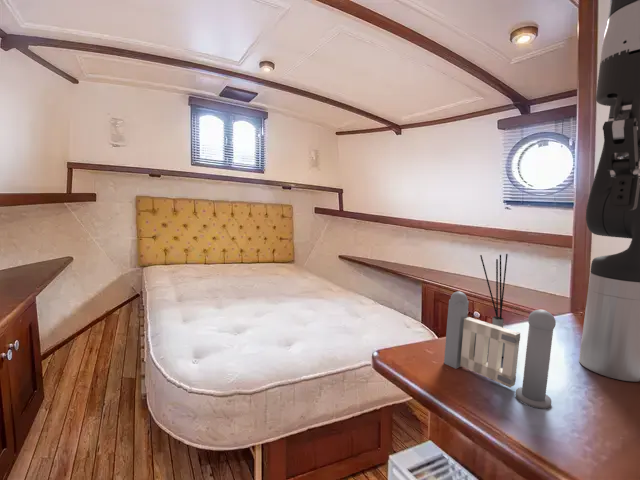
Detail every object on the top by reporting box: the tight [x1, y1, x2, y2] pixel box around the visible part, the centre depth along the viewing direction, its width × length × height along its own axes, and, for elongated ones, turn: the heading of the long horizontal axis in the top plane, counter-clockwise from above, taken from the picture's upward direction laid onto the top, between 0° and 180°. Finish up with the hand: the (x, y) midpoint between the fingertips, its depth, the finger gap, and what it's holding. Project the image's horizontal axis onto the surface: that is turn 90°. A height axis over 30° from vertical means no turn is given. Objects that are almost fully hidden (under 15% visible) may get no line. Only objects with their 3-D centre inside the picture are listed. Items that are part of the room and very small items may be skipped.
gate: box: [460, 316, 521, 388], centre depth 56 cm, size 8×2×9 cm, turn 37°
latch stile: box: [443, 290, 477, 369], centre depth 60 cm, size 4×6×14 cm
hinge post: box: [514, 309, 557, 410], centre depth 50 cm, size 5×5×14 cm
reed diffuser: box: [479, 253, 509, 357], centre depth 66 cm, size 10×7×20 cm
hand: (622, 209), depth 40 cm, fingers closed
